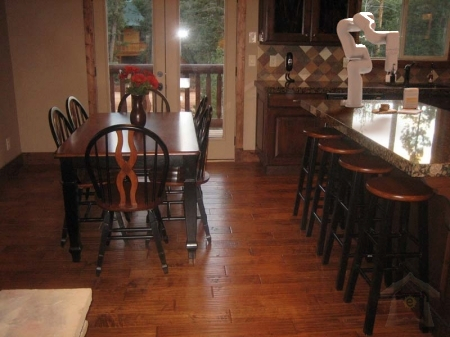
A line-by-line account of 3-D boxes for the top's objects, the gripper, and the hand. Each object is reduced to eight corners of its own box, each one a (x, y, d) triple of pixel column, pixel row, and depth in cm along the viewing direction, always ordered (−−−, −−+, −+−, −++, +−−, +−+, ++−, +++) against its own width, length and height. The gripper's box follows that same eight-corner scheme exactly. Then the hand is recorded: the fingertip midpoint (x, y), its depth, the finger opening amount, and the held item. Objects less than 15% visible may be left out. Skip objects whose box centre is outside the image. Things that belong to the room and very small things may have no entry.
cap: (384, 81, 290) (384, 73, 289) (394, 80, 290) (394, 73, 289) (387, 82, 284) (387, 74, 283) (397, 81, 284) (397, 74, 283)
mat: (396, 113, 287) (396, 111, 287) (403, 110, 296) (403, 108, 296) (416, 114, 280) (416, 112, 279) (423, 111, 288) (423, 110, 288)
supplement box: (415, 107, 305) (416, 87, 301) (417, 108, 300) (419, 88, 297) (402, 108, 306) (403, 88, 302) (404, 109, 301) (405, 88, 298)
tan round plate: (367, 112, 293) (368, 104, 292) (377, 109, 304) (377, 101, 303) (391, 114, 284) (391, 106, 282) (400, 111, 294) (400, 103, 293)
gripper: (381, 52, 291) (380, 81, 296) (390, 52, 275) (389, 83, 279) (393, 51, 291) (392, 80, 296) (403, 52, 274) (401, 83, 279)
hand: (390, 81), depth 287 cm, fingers closed on cap, 6 cm apart
